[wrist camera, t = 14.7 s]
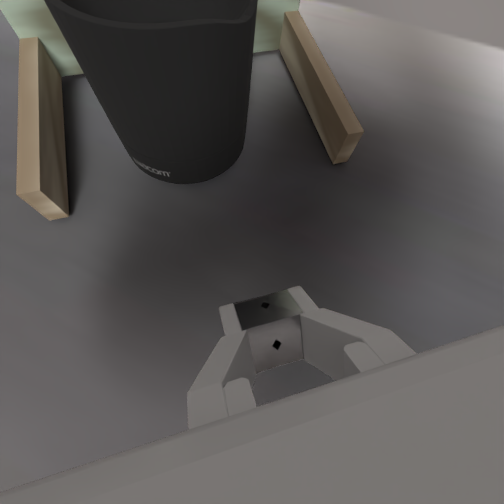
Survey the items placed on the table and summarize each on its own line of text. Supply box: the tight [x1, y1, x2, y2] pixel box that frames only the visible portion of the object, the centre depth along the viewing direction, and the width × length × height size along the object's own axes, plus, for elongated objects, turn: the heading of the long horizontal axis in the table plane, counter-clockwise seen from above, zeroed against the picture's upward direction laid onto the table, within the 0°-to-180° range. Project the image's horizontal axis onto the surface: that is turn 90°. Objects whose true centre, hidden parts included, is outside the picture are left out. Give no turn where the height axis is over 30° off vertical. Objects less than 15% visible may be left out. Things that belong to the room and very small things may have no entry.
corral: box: [0, 0, 364, 220], centre depth 20 cm, size 21×15×6 cm
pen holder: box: [44, 0, 258, 184], centre depth 17 cm, size 9×9×10 cm
